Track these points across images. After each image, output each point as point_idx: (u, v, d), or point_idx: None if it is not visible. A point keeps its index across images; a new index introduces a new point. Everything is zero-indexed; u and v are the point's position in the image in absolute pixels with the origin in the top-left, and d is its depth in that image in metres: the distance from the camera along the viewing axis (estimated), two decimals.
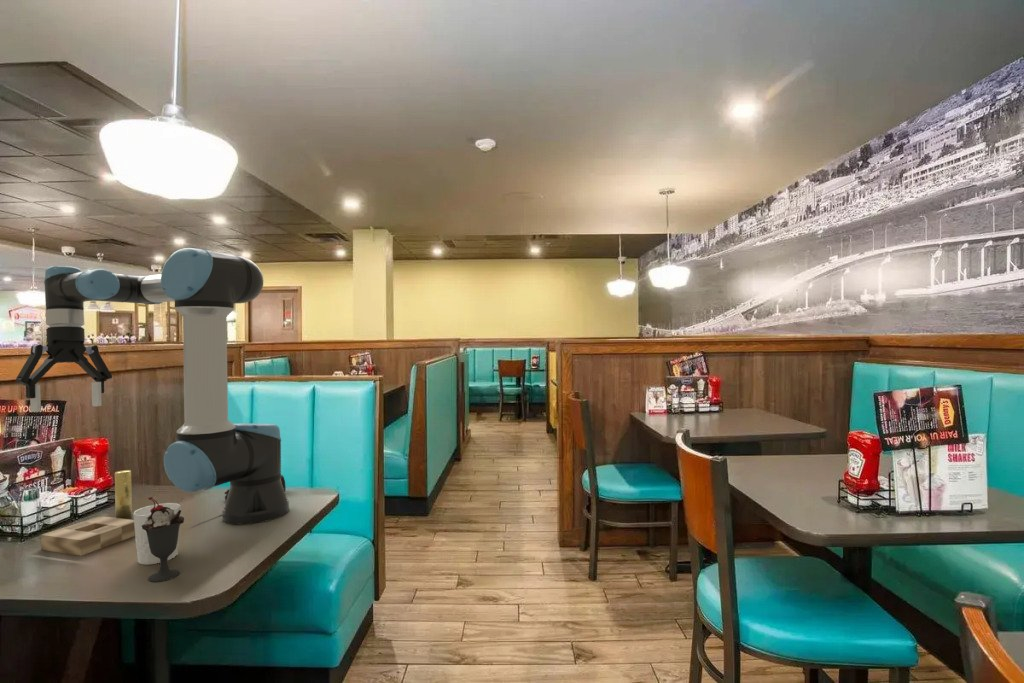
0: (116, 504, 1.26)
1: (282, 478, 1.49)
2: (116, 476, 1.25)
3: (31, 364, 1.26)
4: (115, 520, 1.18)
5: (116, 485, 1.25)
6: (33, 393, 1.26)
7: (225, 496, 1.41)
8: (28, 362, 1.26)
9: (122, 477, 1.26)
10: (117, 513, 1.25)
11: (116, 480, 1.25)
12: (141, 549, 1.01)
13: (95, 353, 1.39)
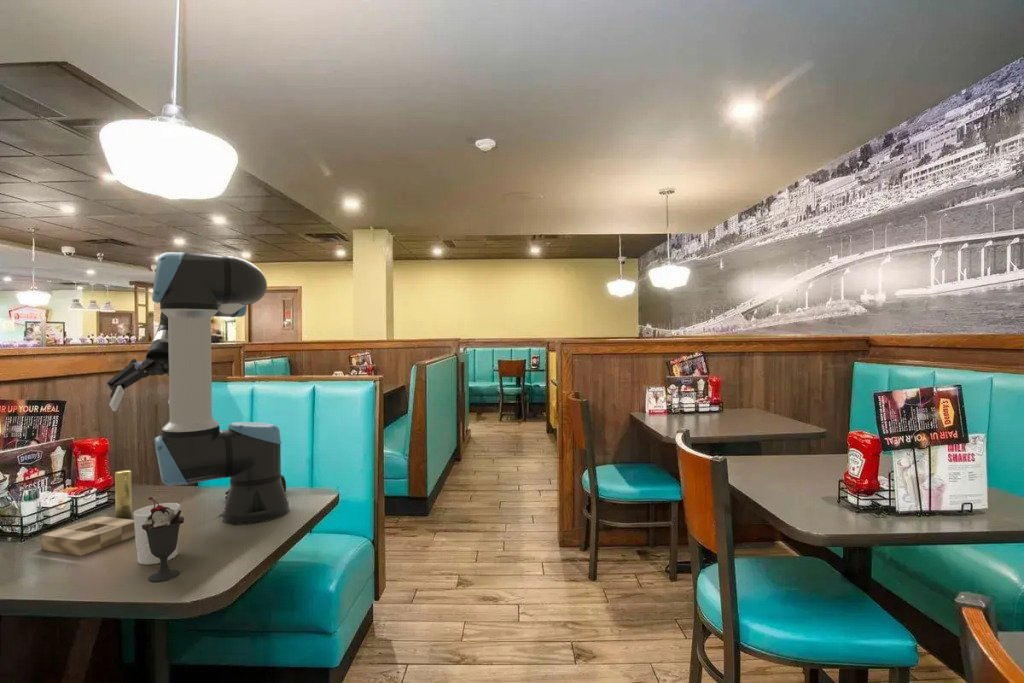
0: (116, 504, 1.26)
1: (283, 478, 1.49)
2: (116, 476, 1.25)
3: (120, 372, 1.43)
4: (115, 520, 1.18)
5: (116, 485, 1.25)
6: (114, 392, 1.38)
7: (226, 496, 1.41)
8: None
9: (122, 477, 1.26)
10: (117, 513, 1.25)
11: (116, 480, 1.25)
12: (141, 549, 1.01)
13: None
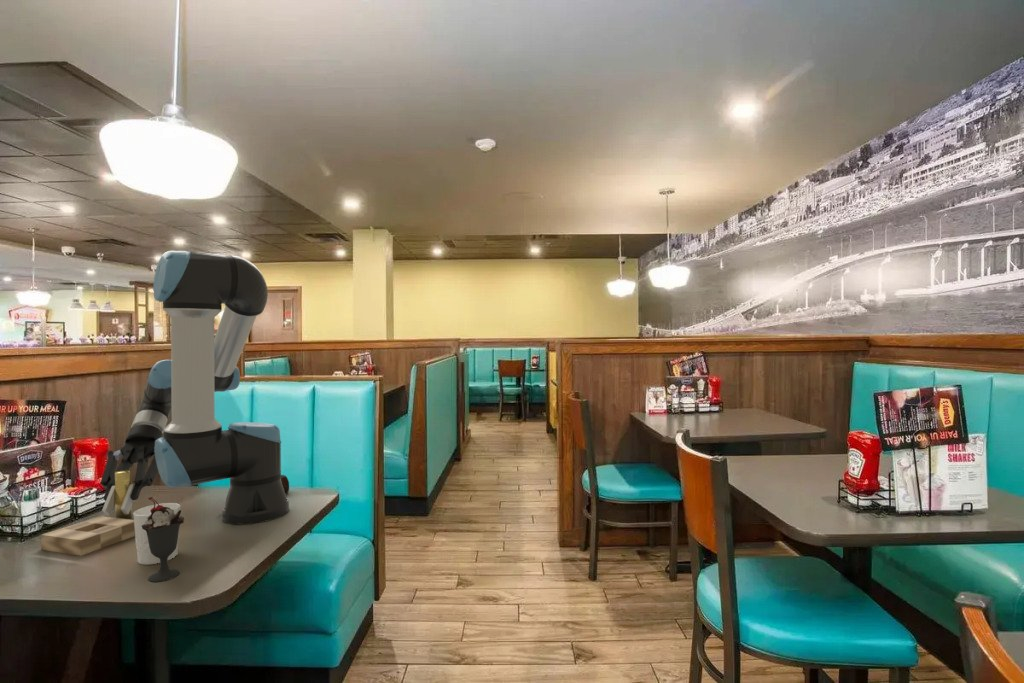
0: (116, 504, 1.26)
1: (285, 478, 1.49)
2: (116, 476, 1.25)
3: (106, 468, 1.29)
4: (115, 520, 1.18)
5: (116, 485, 1.25)
6: None
7: None
8: None
9: (122, 477, 1.26)
10: (117, 513, 1.25)
11: (116, 480, 1.25)
12: (141, 549, 1.01)
13: None
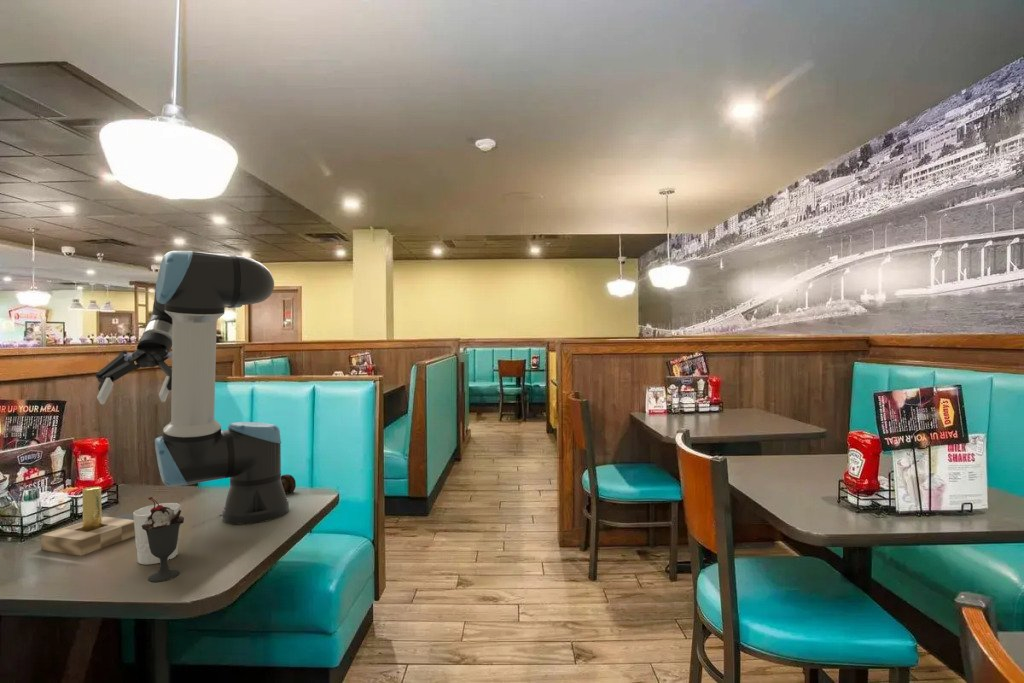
0: (83, 525, 1.12)
1: (291, 476, 1.50)
2: (84, 494, 1.12)
3: (110, 363, 1.35)
4: (115, 520, 1.18)
5: (84, 504, 1.12)
6: None
7: None
8: None
9: (90, 495, 1.12)
10: None
11: (84, 498, 1.12)
12: (141, 549, 1.01)
13: None
